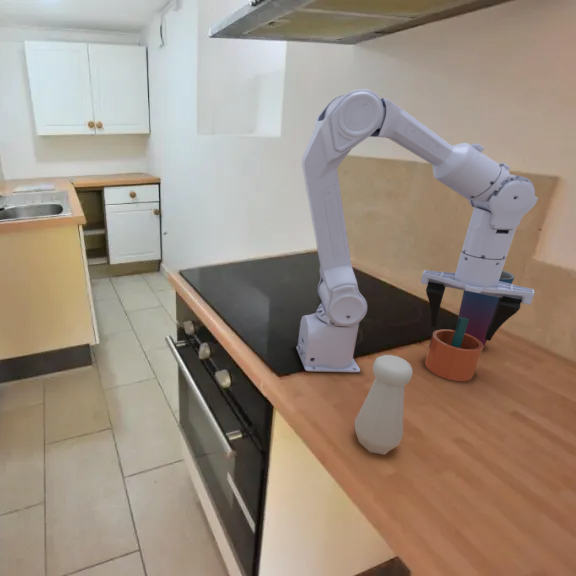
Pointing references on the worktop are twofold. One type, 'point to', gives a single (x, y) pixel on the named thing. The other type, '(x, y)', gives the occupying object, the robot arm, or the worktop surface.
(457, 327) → the straw
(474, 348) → the orange round pot
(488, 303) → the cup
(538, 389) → the worktop surface
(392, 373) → the salt shaker
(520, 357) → the worktop surface
